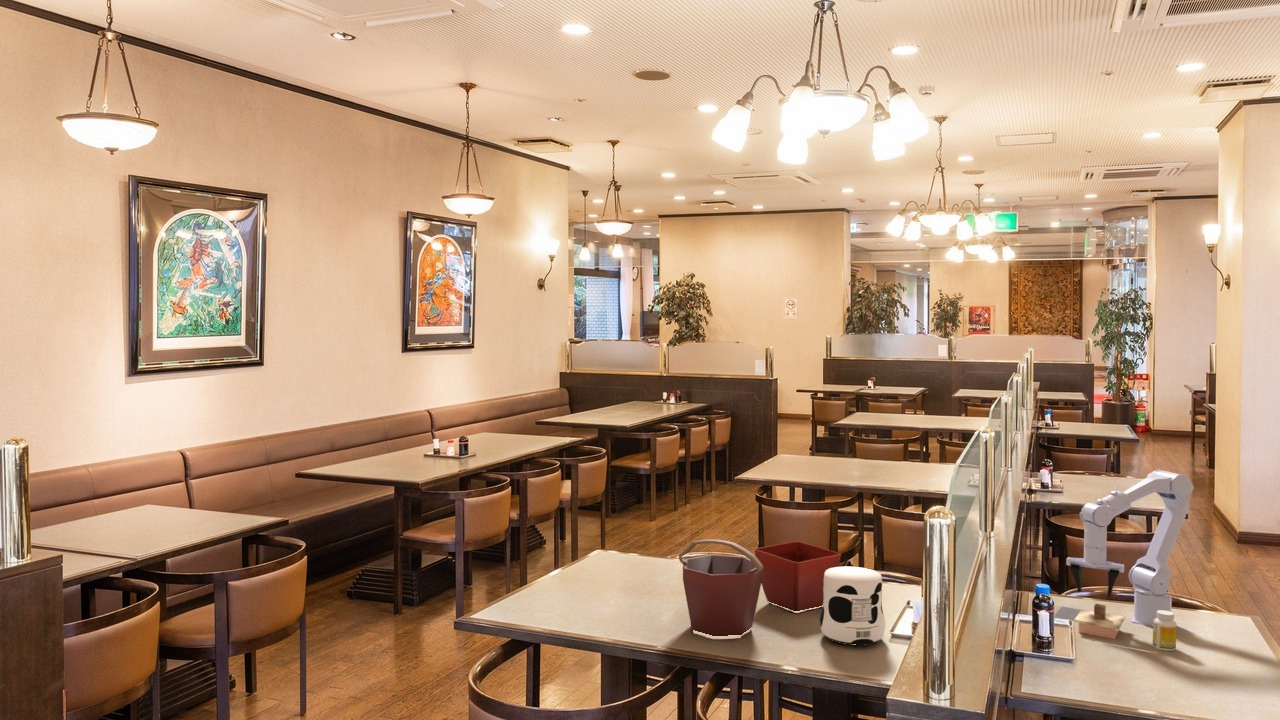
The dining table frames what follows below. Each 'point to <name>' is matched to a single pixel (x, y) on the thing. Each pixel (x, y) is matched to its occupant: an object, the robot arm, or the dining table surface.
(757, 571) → the bucket
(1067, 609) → the mat
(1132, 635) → the dining table surface
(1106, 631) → the terracotta open box
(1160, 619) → the supplement bottle
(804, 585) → the plant pot
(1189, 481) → the robot arm
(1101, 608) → the lid
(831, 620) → the milk container
